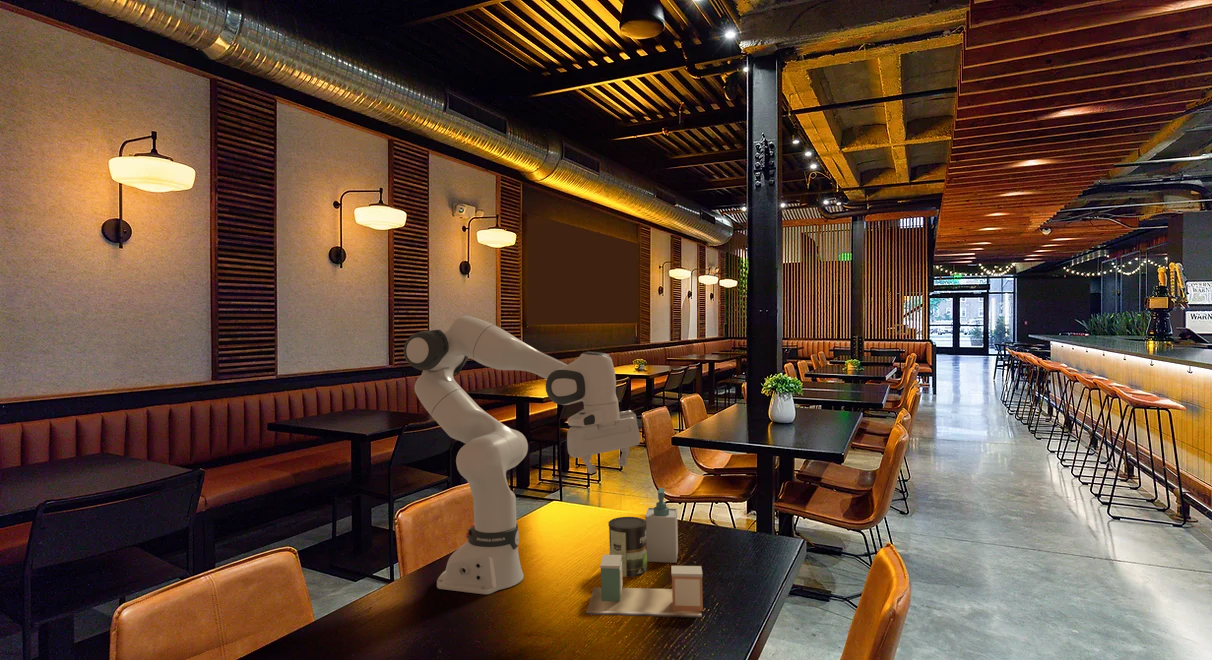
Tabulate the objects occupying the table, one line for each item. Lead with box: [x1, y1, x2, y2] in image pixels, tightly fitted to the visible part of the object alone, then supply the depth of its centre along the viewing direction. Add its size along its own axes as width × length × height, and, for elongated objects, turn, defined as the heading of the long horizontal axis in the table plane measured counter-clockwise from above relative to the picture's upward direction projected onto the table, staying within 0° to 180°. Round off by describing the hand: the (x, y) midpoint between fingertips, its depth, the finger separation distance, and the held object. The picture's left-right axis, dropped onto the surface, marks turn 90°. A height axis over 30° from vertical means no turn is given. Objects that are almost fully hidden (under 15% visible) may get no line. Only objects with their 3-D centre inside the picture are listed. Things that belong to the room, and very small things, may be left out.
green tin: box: [599, 554, 624, 601], centre depth 143 cm, size 5×7×8 cm
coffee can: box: [608, 516, 648, 578], centre depth 158 cm, size 10×10×14 cm
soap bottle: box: [644, 487, 679, 564], centre depth 170 cm, size 9×9×19 cm
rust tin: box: [670, 565, 704, 612], centre depth 136 cm, size 5×7×8 cm
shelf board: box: [585, 586, 703, 618], centre depth 139 cm, size 26×14×2 cm, turn 84°
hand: (607, 469), depth 149 cm, fingers open, 8 cm apart
